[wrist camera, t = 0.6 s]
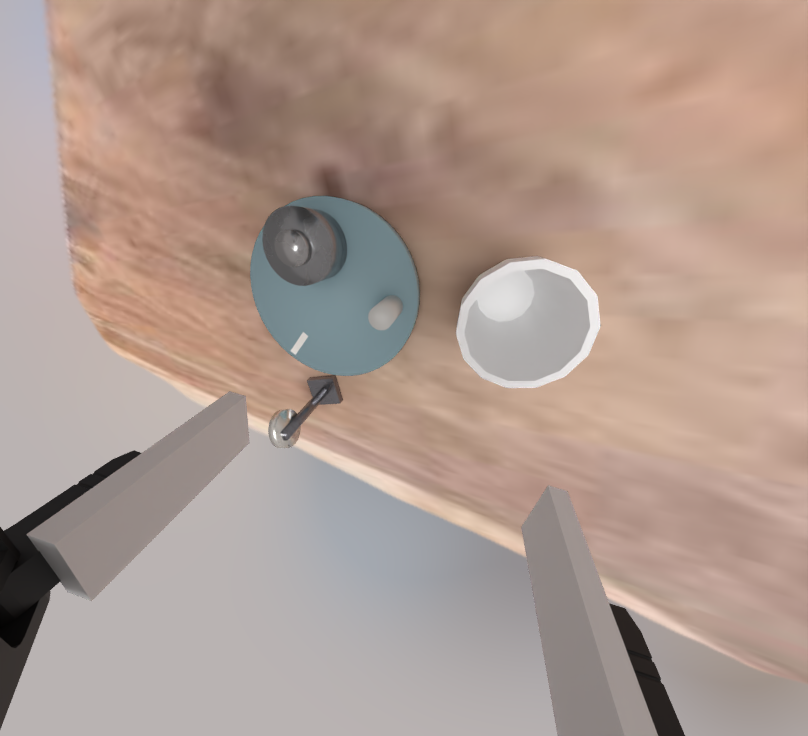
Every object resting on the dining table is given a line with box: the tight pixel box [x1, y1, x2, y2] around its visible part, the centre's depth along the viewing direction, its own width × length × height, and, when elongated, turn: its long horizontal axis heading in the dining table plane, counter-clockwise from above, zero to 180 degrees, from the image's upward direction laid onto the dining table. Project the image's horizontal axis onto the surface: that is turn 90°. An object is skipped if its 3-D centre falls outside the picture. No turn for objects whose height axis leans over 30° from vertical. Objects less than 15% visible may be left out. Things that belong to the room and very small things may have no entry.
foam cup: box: [456, 256, 601, 388], centre depth 26 cm, size 10×9×13 cm
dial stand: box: [268, 375, 343, 448], centre depth 37 cm, size 4×4×12 cm
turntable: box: [250, 196, 420, 376], centre depth 32 cm, size 20×20×7 cm
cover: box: [262, 206, 347, 286], centre depth 29 cm, size 7×7×5 cm
